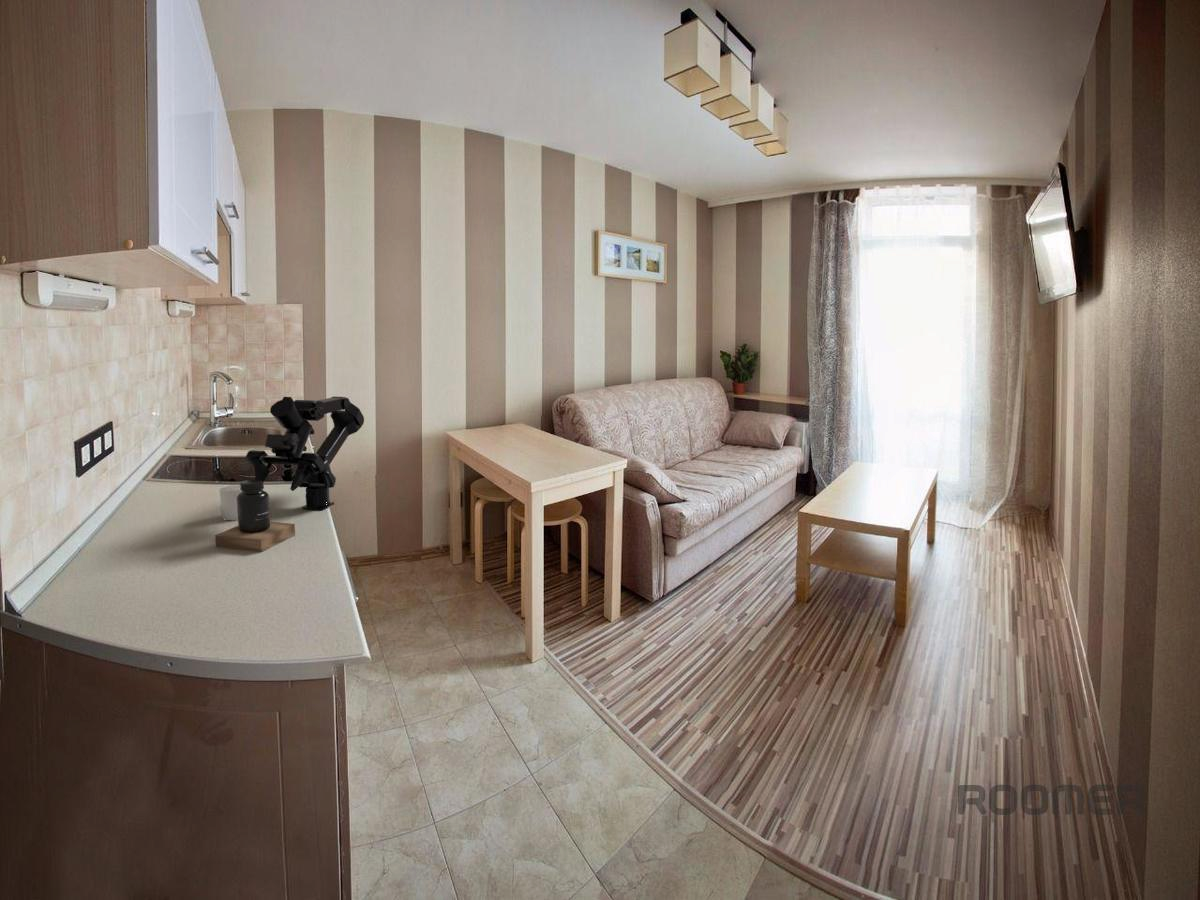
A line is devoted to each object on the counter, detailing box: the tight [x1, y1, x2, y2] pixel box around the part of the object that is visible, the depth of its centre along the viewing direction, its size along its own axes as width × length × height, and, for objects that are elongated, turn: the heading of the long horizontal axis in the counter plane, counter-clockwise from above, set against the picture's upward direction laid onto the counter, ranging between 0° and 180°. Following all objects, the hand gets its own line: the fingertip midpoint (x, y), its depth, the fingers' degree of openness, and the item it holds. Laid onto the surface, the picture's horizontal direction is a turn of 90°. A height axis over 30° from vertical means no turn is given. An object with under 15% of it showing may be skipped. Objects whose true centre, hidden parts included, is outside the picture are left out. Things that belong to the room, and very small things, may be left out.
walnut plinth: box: [214, 521, 296, 553], centre depth 145 cm, size 12×12×3 cm
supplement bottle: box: [237, 479, 271, 533], centre depth 144 cm, size 7×7×12 cm
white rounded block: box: [219, 484, 242, 521], centre depth 162 cm, size 7×7×8 cm
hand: (274, 489), depth 151 cm, fingers open, 9 cm apart
